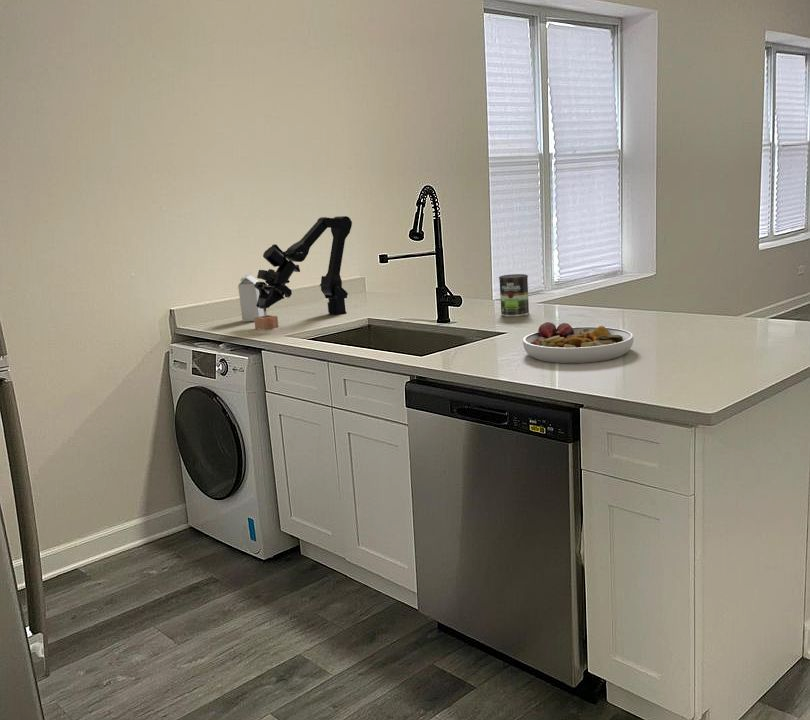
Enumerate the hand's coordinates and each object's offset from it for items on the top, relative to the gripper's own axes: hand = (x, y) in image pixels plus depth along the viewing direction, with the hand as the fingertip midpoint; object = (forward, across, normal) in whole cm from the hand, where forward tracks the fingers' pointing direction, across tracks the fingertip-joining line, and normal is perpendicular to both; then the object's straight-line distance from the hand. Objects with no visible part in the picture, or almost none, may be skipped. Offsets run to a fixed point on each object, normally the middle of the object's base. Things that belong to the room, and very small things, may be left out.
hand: (261, 307), depth 319 cm
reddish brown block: (+5, +1, +7) cm, 8 cm away
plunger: (+4, 0, +6) cm, 7 cm away
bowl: (-10, +132, +22) cm, 134 cm away
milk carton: (0, -22, +12) cm, 25 cm away
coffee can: (-39, +71, +50) cm, 96 cm away
